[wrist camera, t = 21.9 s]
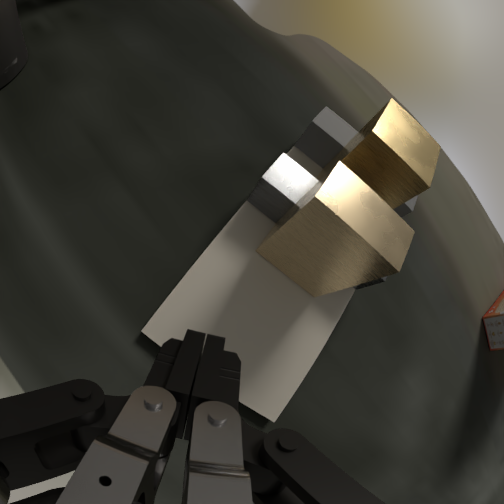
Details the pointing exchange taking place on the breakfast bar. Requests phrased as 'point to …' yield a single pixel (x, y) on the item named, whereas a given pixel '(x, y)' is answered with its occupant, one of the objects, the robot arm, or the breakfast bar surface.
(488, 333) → the cracker box
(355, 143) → the brass block
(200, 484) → the robot arm
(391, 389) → the breakfast bar surface
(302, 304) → the vise
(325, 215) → the sliding jaw
